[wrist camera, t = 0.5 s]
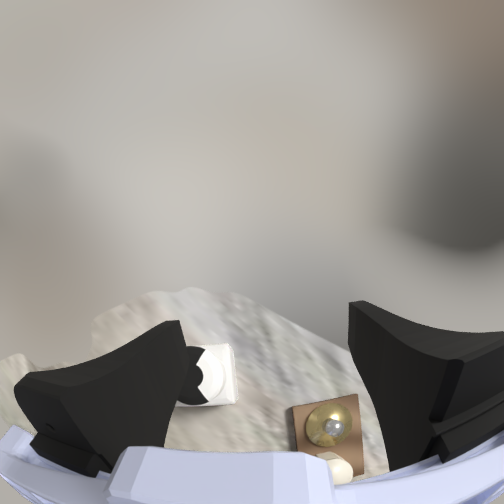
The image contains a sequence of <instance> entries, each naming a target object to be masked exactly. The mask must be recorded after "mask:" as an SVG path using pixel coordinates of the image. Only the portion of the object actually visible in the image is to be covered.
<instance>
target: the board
mask: <svg viewBox="0 0 504 504" xmlns="http://www.w3.org/2000/svg"><path fill="white" fill-rule="evenodd" d="M326 403H337V404H340V405H343V406H344V407H346V408H347V409H348V410H349V412H350V413H351V416H352V420H353V424H352V429H351V431H350V433H349V435H348V436H347V437H346V438H345V439H344V440H343V441H342V442H340V443H339V444H337V445H334V446H330V447H323V446H319V445H316V444H315V443H313V442H312V441H311V440H310V439H309V437H308V436H307V433H306V422H307V419H308V417H309V415H310V414H311V413H312V411H313V410H315V409H316V408H317V407H319V406H321V405H323V404H326ZM292 411H293V419H294V428H295V437H296V446H297V452H303V453H306V454H309V455H312V456H316V454H321V453H325V452H333V453H335V454H337V455H338V456H340V457H342V458H343V459H344V460H345V461H347V462H348V463H349V464H350V465H351V467H352V469H353V477H355V476H358V475H361V474H364V458H363V443H362V430H361V420H360V410H359V401H358V394H352V395H347V396H343V397H339V398H334V399H330V400H325V401H320V402H315V403H310V404H304V405H298V406H292Z"/></svg>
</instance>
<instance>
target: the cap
mask: <svg viewBox="0 0 504 504" xmlns="http://www.w3.org/2000/svg"><path fill="white" fill-rule="evenodd" d="M315 457H318V458H321V459H324V460H326V462H327V463H328V465H329V467H330V469H331V471H332V477H333V483H334V485H340V484H345V483H350V482H351V480H352V477H353V469H352V467H351V465H350V464H349V463H348V462H347V461H345V460H344V459H343V458H342V457H340V456H338V455H337V454H335V453H333V452H325V453H321V454H316V456H315Z"/></svg>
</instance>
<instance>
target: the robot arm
mask: <svg viewBox="0 0 504 504" xmlns="http://www.w3.org/2000/svg"><path fill="white" fill-rule="evenodd" d="M348 345H349V348H350V352H351V355H352V358H353V361H354V363H355V366H356V368H357V370H358V372H359V374H360V376H361V378H362V380H363V382H364V384H365V387H366V389H367V391H368V393H369V395H370V397H371V399H372V402H373V404H374V407H375V410H376V414H377V417H378V420H379V424H380V428H381V431H382V435H383V439H384V444H385V448H386V453H387V458H388V463H389V470H390V472H388V473H385V474H382V475H378V476H375V477H371V478H367V479H363V480H359V481H355V482H350V483H345V484H340V485H334V483H333V477H332V471H331V469H330V467H329V465H328V463H327V462H326V460H324V459H321V458H318V457H315V456H312V455H309V454H306V453H303V452H289V451H262V452H207V451H191V450H180V449H170V448H164V443H165V438H166V433H167V429H168V425H169V421H170V418H171V415H172V412H173V410H174V407H175V404H176V402H177V399H178V397H179V394H180V392H181V389H182V387H183V384H184V381H185V379H186V375H187V371H188V366H189V361H190V357H189V354H188V350H187V347H186V343H185V340H184V336H183V333H182V329H181V325H180V321H179V320H174V321H165V322H163V323H161V324H159V325H157V326H155V327H154V328H152V329H150V330H149V331H147V332H145V333H144V334H142V335H141V336H139V337H137V338H136V339H134V340H132V341H130V342H129V343H127V344H125V345H123V346H122V347H120V348H118V349H116V350H114V351H112V352H110V353H108V354H105V355H103V356H101V357H98V358H96V359H93V360H90V361H87V362H84V363H81V364H78V365H74V366H70V367H66V368H61V369H55V370H48V371H38V372H29V373H27V374H26V375H25V376H24V377H23V378H22V379H21V380H20V381H19V382H18V383H17V384H16V385H15V387H14V394H15V398H16V400H17V403H18V404H19V406H20V408H21V409H22V411H23V412H24V414H25V415H26V417H27V418H28V420H29V421H30V422H31V424H32V425H33V426H34V428H35V429H36V430H37V432H38V433H37V434H36V436H35V437H34V436H33V435H32V434H30V433H29V432H27V431H26V430H24V429H22V428H20V427H18V426H16V425H12V426H11V428H10V429H9V430H8V431H7V433H6V434H5V435H4V436H3V437H2V439H1V440H0V476H1V477H2V478H3V479H4V480H5V481H6V482H7V483H9V484H10V485H11V486H12V487H13V488H14V489H15V490H16V491H17V492H18V493H20V494H21V495H22V496H23V497H25V498H26V499H27V500H29V501H30V502H32V503H33V504H489V503H490V502H492V501H493V500H495V499H496V498H497V497H499V496H500V495H501V494H503V493H504V332H503V331H501V332H486V333H470V332H469V333H468V332H456V331H449V330H443V329H437V328H433V327H429V326H425V325H421V324H418V323H415V322H412V321H410V320H407V319H404V318H402V317H399V316H397V315H395V314H392V313H390V312H388V311H386V310H384V309H382V308H379V307H377V306H375V305H373V304H371V303H368V302H366V301H356V302H350V303H349V329H348Z"/></svg>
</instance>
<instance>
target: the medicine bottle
mask: <svg viewBox="0 0 504 504" xmlns="http://www.w3.org/2000/svg"><path fill="white" fill-rule="evenodd" d="M186 347H187V350H188V354H189V357H190V361H189V366H188V371H187V375H186V379H185V381H184V384H183V387H182V389H181V392H180V394H179V397H178V399H177V402H176V404H175V406H176V407H182V406H216V405H232V404H234V403H235V402H236V401H237V399H238V389H237V380H236V371H235V362H234V352H233V349H232V348H231V347H230V346H229V345H228V344H227V343H224V344H212V345H197V346H186Z"/></svg>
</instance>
